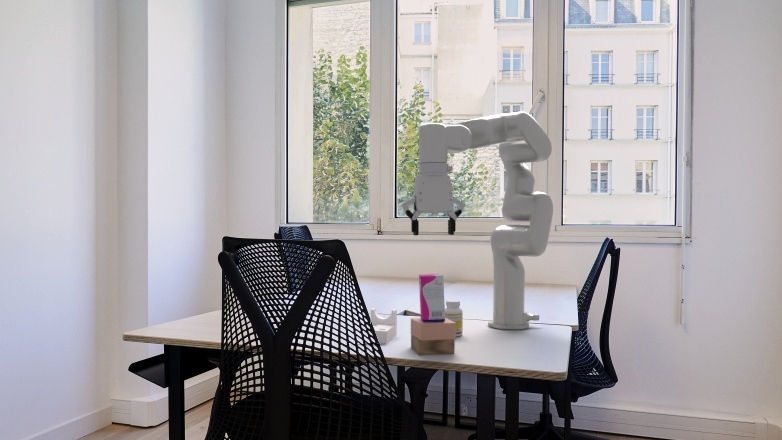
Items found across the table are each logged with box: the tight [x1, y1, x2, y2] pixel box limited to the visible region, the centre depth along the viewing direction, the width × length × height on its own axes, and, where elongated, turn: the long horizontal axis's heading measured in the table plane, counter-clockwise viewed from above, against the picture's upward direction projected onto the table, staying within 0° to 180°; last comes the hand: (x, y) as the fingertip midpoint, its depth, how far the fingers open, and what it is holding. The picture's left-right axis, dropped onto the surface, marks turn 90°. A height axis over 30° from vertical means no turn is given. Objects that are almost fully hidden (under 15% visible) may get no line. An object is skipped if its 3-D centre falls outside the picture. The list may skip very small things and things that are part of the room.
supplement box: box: [418, 273, 446, 322], centre depth 153 cm, size 6×6×12 cm
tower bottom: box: [410, 333, 456, 356], centre depth 153 cm, size 9×9×4 cm
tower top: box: [410, 317, 457, 341], centre depth 153 cm, size 9×9×4 cm
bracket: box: [370, 307, 398, 344], centre depth 168 cm, size 13×7×8 cm, turn 168°
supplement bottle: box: [445, 299, 464, 337], centre depth 174 cm, size 5×5×10 cm
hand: (433, 234), depth 161 cm, fingers open, 9 cm apart
